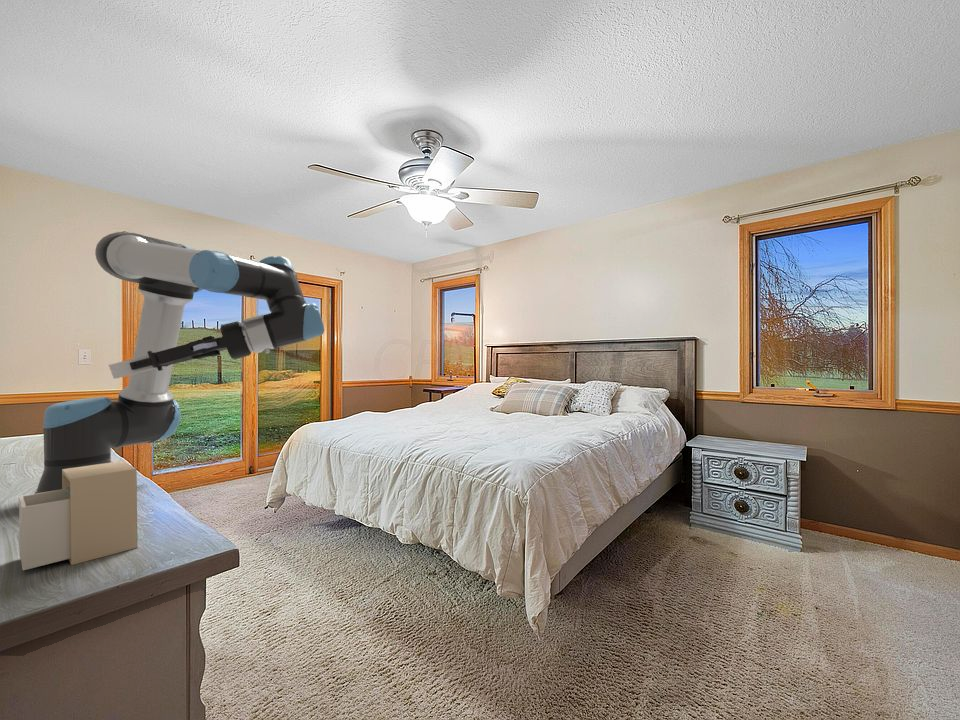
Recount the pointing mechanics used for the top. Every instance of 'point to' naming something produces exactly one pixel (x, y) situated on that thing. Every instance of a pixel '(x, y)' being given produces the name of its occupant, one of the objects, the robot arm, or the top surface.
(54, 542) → the drawer box
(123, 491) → the sleeve
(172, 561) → the top surface
